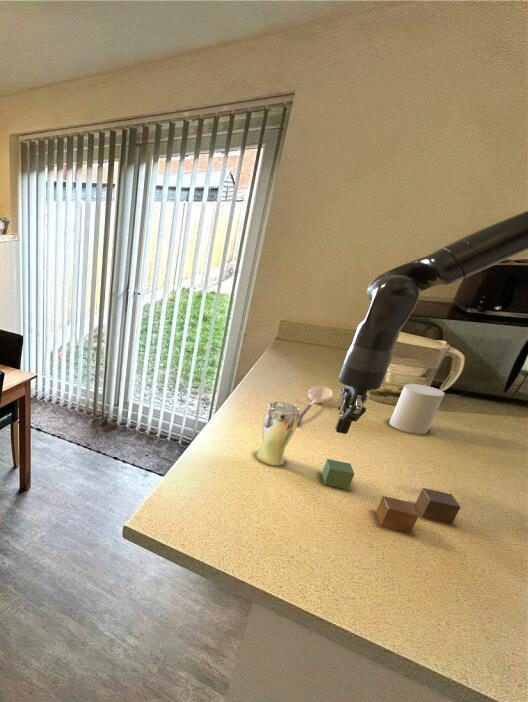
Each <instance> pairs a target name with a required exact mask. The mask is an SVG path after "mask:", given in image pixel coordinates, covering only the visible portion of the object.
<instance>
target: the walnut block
mask: <svg viewBox="0 0 528 702" xmlns="http://www.w3.org/2000/svg"><path fill="white" fill-rule="evenodd" d="M414 507H415V509H416V511H417V512H418V513H419V515H420V517H421V518H423V519H427V520H431V521H436V522H437V523H443V524H447V525H452V524H453V523H454V521H455V519H456V517H457V515H458V513H459V511H460V509H461V508H462V507H461V506H460V504H459V502H458V501H457V499H455V497H454V496H453V494H452V493H447V492H443V491H438V490H434V489H429V488H426V487H422V488H421V491H420V493H419V495H418V496H417V498H416V501H415V503H414Z"/></svg>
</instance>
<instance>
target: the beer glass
mask: <svg viewBox="0 0 528 702" xmlns="http://www.w3.org/2000/svg"><path fill="white" fill-rule="evenodd" d="M300 414H301V409H300V407H298V406H297V405H295V404H292V403H289V402H285V401H271V402H269V403H268V406H267V409H266V411H265V414H264V418H263V422H262V433H261V443H260V447H259V448H258V451H257V452H256V458H257V459H258V460H259V461H260V462H262V463H264V464H267V465H270V466H281V465H283V464H284V463H285V455H286V454H285V453H286V450H287V447H288V445H289V444H290V442H291V440H292V438H293V437H294V435H295V434H296V433H295V432H296V430H297V428H298V425H299V424H298V421H299V415H300ZM297 424H298V425H297Z"/></svg>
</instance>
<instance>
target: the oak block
mask: <svg viewBox="0 0 528 702" xmlns="http://www.w3.org/2000/svg"><path fill="white" fill-rule="evenodd" d="M375 515H376V517H377V520H378V522H379V525H380V527H383V528H385V529H386V528H387V529H391V530H395V531H398V532H402V533H406V534H411V533H412V531H413V529H414V528H415V525H416V523H417V521H418V519H419V514H418V511H417V509H416V507H415V505H413V502H411V501H408V500H403V499H399V498H395V497H391V496H386V495H382V497H381V499H380V501H379V503H378V506H377V508H376V510H375Z"/></svg>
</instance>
